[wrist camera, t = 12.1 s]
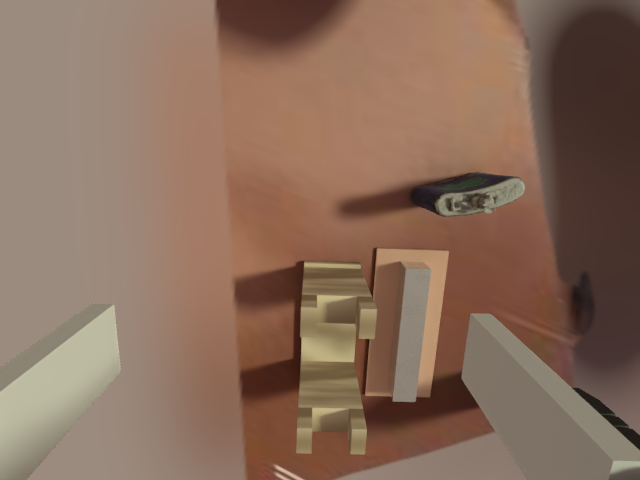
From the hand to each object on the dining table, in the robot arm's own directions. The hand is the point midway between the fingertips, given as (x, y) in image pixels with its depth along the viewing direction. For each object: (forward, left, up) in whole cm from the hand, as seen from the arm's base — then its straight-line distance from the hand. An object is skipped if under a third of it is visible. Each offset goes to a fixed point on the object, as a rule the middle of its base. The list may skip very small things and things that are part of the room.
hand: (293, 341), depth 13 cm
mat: (+15, +13, -32) cm, 37 cm away
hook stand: (+15, +3, -32) cm, 35 cm away
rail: (+15, +13, -31) cm, 37 cm away
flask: (-3, +17, -32) cm, 36 cm away
